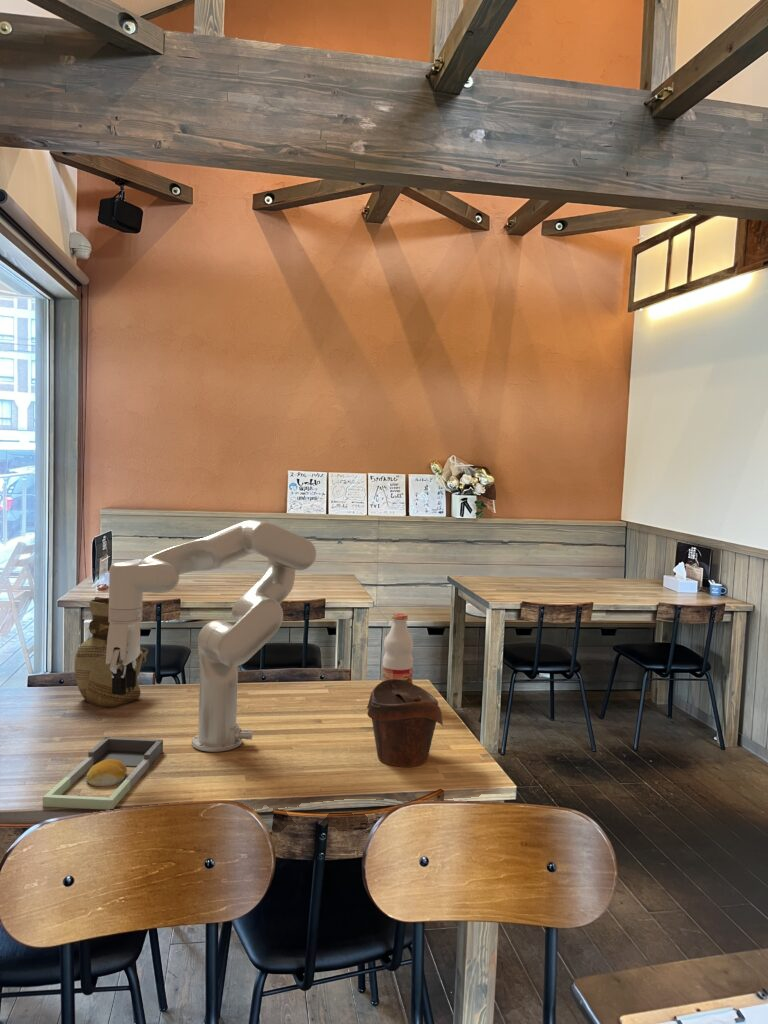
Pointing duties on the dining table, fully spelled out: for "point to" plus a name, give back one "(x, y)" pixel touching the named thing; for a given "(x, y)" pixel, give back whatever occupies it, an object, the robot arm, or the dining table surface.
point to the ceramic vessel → (101, 662)
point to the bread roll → (106, 773)
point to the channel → (119, 749)
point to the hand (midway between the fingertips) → (124, 689)
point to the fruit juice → (398, 651)
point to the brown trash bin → (403, 722)
